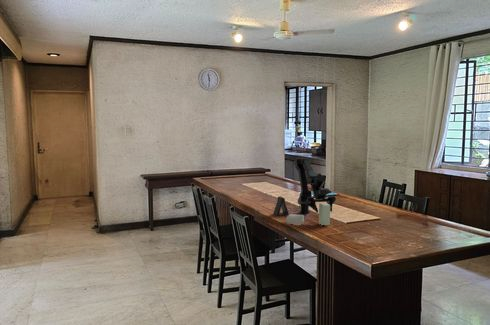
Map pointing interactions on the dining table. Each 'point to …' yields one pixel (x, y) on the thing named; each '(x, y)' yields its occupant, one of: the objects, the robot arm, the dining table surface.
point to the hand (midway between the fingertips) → (324, 212)
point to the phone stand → (278, 206)
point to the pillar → (324, 214)
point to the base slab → (294, 223)
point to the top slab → (295, 218)
